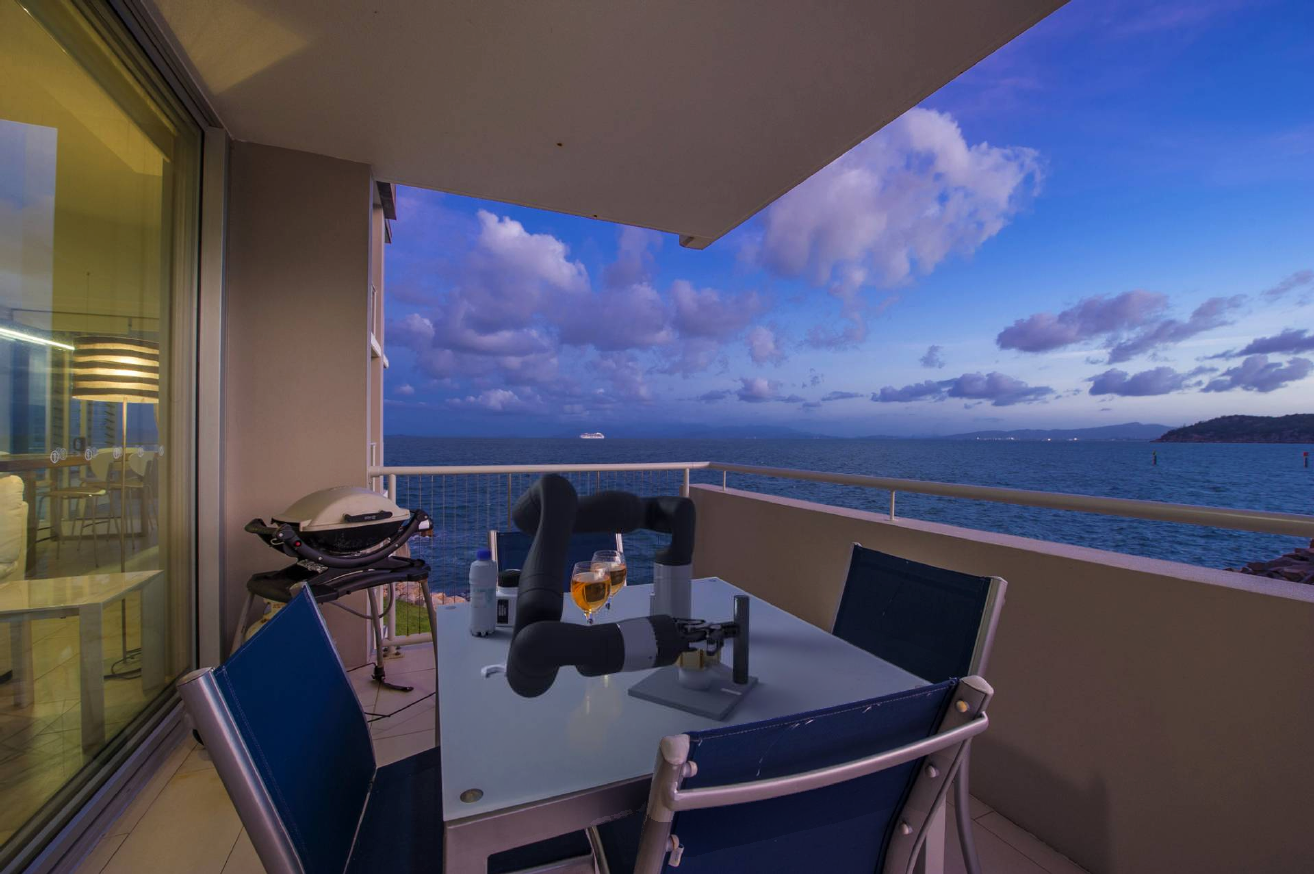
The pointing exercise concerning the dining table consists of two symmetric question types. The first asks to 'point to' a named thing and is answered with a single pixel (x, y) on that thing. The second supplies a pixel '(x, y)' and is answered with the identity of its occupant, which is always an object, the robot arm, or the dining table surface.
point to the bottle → (483, 594)
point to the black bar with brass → (740, 650)
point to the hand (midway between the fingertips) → (736, 628)
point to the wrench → (494, 669)
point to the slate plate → (692, 691)
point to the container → (507, 597)
